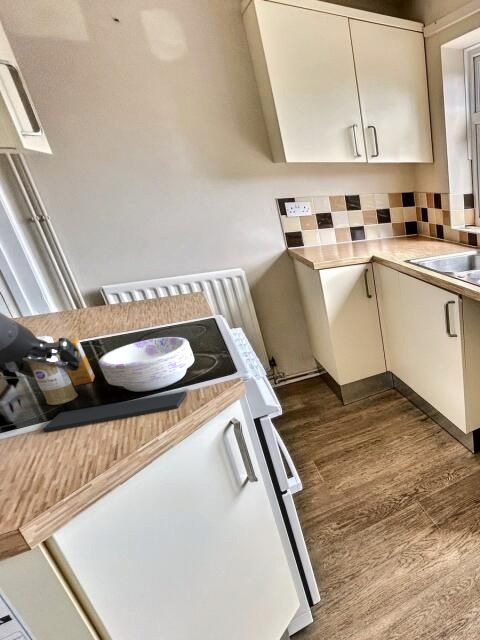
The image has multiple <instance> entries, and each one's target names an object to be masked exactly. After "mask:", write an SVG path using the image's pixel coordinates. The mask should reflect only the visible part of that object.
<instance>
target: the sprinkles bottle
mask: <svg viewBox="0 0 480 640" xmlns="http://www.w3.org/2000/svg"><path fill="white" fill-rule="evenodd" d="M35 337H36V338H37V339H40V340H44V341H47V342H48V343H52V342H55V341H54V339H53V337H52V336H49V335H42V336H35ZM46 354H47V353H46ZM44 358H46V356H45V357H44ZM56 358H58V359H60V355H57V354H56ZM28 363H29V365H30V367H31V369H32V371H33V373H34V375H35V377H34V379H35V381H36V383H37V385H38V387H39V389H40V390H41V392H42V395H43V397H44V398H45V400H46V404H47V405H50V406H57V405H58V406H59V405H62V404H66V403H69V402H71V401H73V400H75V399H76V398H78V396H79V394H78V393H77V392H76V390H75V388H74V384H73V382H72V380H71V378H70V376H69V374H68V371H67V369H66V368H65V367H63V366H62V365H60V364H56V363H51V364H45V363H40V362H36V361H31V362H30V361H29V362H28Z"/></svg>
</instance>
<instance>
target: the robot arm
mask: <svg viewBox="0 0 480 640" xmlns="http://www.w3.org/2000/svg"><path fill="white" fill-rule="evenodd" d="M36 337H37V336H36V335H35V334H34V333H33V332H32V330H30V329H29V328H27V326H24V325H23V324H21V323H19V322H17V321H16V320H14V319H12V318H11V317H9V316H7V315H5V314H4V313H3V312H0V373H4V372H5V371H6V370H7V371H9V372H10V373H19V374H21V375H23V376H27V377H29V378H35V375H34V373H33V371H32V369H31V367H30V365H29V363H28V362H29V361H30V362H31V361H36V362H40V363H45V364H51V363H56V364H60V365H62V366H63V367H65V369H66V368H67V369H69V370H71V371H77V370H78V368H79V360H78V349H77V348H76V347H75V346H74V345H73V344H72V343H71V342H70V341H69V340H68V339H69V338H66V337H59V338H58V340H57V341H58V342H57V341H54V342H52V343H48V342H47V341H44V340H40V339H37V338H36ZM46 353H47V354H46ZM56 354H57V355H59V357H60V359H58V358H56ZM45 356H46V358H44V357H45ZM67 369H66V370H67Z"/></svg>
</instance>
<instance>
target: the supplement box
mask: <svg viewBox="0 0 480 640" xmlns="http://www.w3.org/2000/svg"><path fill="white" fill-rule="evenodd" d="M67 339H68V340H69V341H70V342H71V343H72V344H73V345H74V346H75V347H76V348H77V349H78V360H79V368H78V370H77V371H71V370H69V369H67V368H65V369H66V371H67V373H68V376H69V378H70V380H71V383H72V385H73V387H74V386H75V387H76V386H81V385H85V384H90V383H93V382H94V379H95V377H96V376H95V374H94V371H93V370H92V367H91V365H90V362H89V360H88V358H87V356H86V353H85V351H84V349H83V346H82V344H81V342H80V339H79V338H78V337H77V336H76V337H72V338H71V337H70V338H67ZM56 342H58V340H57V341H56Z"/></svg>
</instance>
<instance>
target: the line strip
mask: <svg viewBox="0 0 480 640" xmlns="http://www.w3.org/2000/svg"><path fill="white" fill-rule="evenodd" d="M186 396H187V392H186V391H180V392H179V391H177V392H173V393H167V394H162V395H155V396H150V397H144V398H139V399H132V400H125V401H120V402H115V403H108V404H103V405H97V406H91V407H86V408H80V409H74V410H68V411H62V412H59V413H58V414H57V415H56V416H55V417H54V418H53V419H51V421H49V422H48V423H47V424H46V425H45V426H44V427H43V428H42V431H43V432H44V433H49V432H55V431H59V430H66V429H72V428H75V427H76V428H77V427H81V426H88V425H92V424H99V423H104V422H110V421H114V420H120V419H126V418H131V417H137V416H143V415H148V414H153V413H154V414H155V413H159V412H164V411H170V410H175V409H179V407H180V406H181V404H182V402H183V401H184V399H185V398H186Z"/></svg>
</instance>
